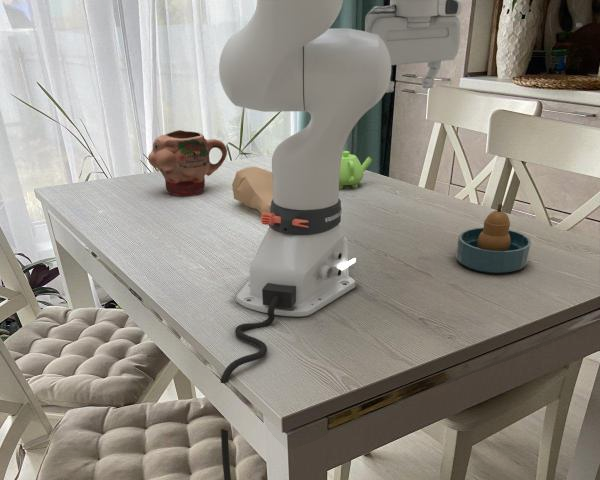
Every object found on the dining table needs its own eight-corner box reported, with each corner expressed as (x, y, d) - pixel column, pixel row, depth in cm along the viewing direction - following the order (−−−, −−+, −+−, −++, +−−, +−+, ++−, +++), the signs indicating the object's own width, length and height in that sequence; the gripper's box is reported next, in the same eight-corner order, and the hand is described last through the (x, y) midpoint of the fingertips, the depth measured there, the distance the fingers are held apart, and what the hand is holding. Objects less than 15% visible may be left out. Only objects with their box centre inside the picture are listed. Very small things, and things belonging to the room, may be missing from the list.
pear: (503, 266, 113) (514, 210, 107) (471, 261, 115) (480, 206, 109) (509, 255, 117) (520, 200, 111) (478, 250, 120) (487, 197, 114)
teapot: (354, 193, 155) (355, 158, 150) (315, 187, 159) (315, 153, 155) (372, 182, 162) (374, 149, 158) (334, 177, 167) (335, 144, 162)
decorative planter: (220, 180, 167) (216, 125, 159) (236, 191, 158) (232, 133, 150) (148, 189, 160) (140, 133, 152) (160, 202, 151) (152, 142, 143)
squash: (265, 197, 154) (271, 161, 149) (296, 231, 140) (303, 192, 135) (224, 195, 149) (229, 157, 144) (252, 230, 136) (258, 190, 130)
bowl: (519, 280, 109) (524, 256, 107) (448, 268, 114) (451, 245, 111) (531, 255, 119) (536, 233, 116) (465, 245, 124) (468, 223, 121)
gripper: (376, 6, 103) (372, 97, 111) (469, 3, 111) (459, 87, 119) (356, 6, 108) (353, 92, 116) (446, 2, 116) (438, 83, 124)
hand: (407, 90), depth 117 cm, fingers open, 8 cm apart
